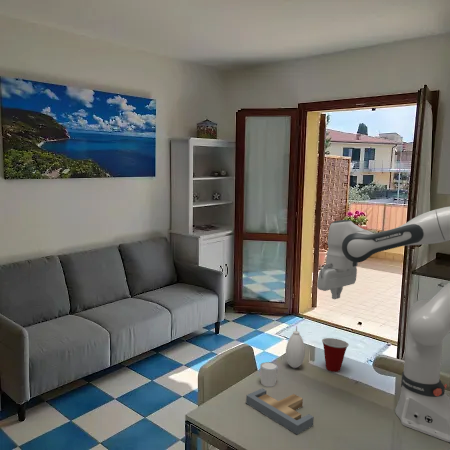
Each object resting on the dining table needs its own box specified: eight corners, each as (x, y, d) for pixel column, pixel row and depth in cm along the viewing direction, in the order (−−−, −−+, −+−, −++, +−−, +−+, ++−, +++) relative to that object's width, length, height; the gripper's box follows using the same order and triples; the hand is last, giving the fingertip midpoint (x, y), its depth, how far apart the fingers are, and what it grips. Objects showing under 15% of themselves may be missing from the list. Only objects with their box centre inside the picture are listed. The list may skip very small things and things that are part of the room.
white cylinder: (276, 388, 162) (277, 370, 161) (258, 386, 163) (259, 368, 162) (277, 380, 169) (278, 363, 168) (260, 377, 170) (261, 360, 169)
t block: (316, 414, 145) (316, 406, 145) (292, 427, 137) (293, 418, 137) (280, 394, 157) (281, 387, 157) (257, 405, 149) (257, 397, 149)
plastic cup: (351, 368, 181) (353, 341, 179) (339, 377, 172) (341, 348, 171) (327, 360, 188) (329, 334, 186) (315, 368, 180) (317, 341, 178)
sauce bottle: (287, 361, 186) (289, 321, 183) (305, 365, 183) (307, 324, 181) (283, 369, 178) (285, 327, 176) (301, 372, 175) (304, 330, 173)
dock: (313, 425, 139) (313, 416, 138) (297, 434, 133) (297, 425, 133) (262, 396, 156) (262, 388, 156) (246, 403, 151) (246, 395, 150)
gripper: (328, 267, 152) (326, 305, 154) (360, 261, 165) (358, 296, 167) (314, 264, 157) (311, 300, 158) (346, 258, 170) (344, 292, 172)
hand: (335, 298), depth 163 cm, fingers closed
